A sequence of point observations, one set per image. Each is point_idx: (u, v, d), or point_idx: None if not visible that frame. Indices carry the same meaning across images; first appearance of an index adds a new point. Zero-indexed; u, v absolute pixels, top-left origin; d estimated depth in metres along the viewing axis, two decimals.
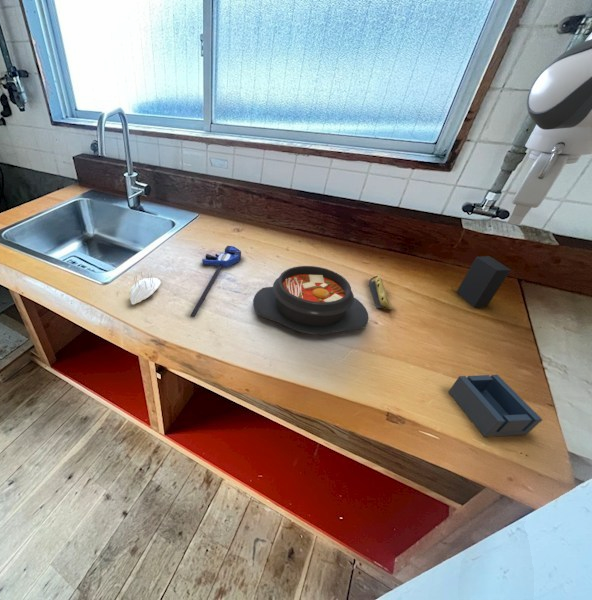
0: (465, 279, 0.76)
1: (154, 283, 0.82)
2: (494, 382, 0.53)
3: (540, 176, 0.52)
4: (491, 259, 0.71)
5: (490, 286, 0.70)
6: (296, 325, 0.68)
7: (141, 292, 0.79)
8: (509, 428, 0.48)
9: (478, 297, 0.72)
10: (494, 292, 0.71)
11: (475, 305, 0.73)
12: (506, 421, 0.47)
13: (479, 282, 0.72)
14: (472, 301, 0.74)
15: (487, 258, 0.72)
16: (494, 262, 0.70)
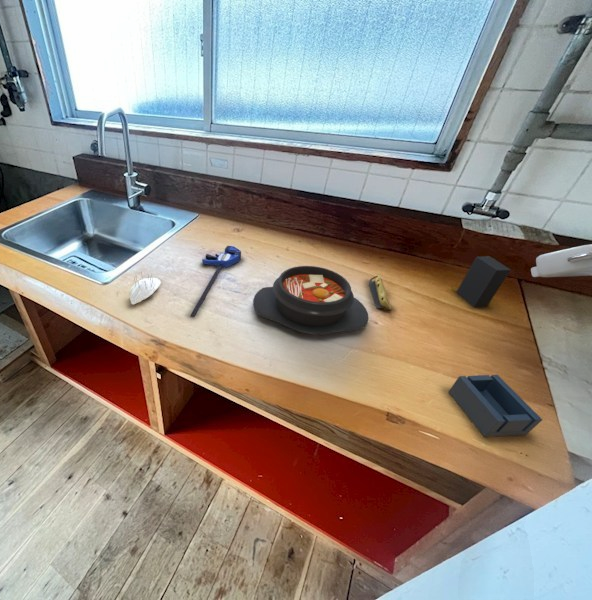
0: (465, 279, 0.76)
1: (154, 283, 0.82)
2: (494, 382, 0.53)
3: (568, 258, 0.47)
4: (491, 259, 0.71)
5: (490, 286, 0.70)
6: (296, 325, 0.68)
7: (141, 292, 0.79)
8: (509, 428, 0.48)
9: (478, 297, 0.72)
10: (494, 292, 0.71)
11: (475, 305, 0.73)
12: (506, 421, 0.47)
13: (479, 282, 0.72)
14: (472, 301, 0.74)
15: (487, 258, 0.72)
16: (494, 262, 0.70)
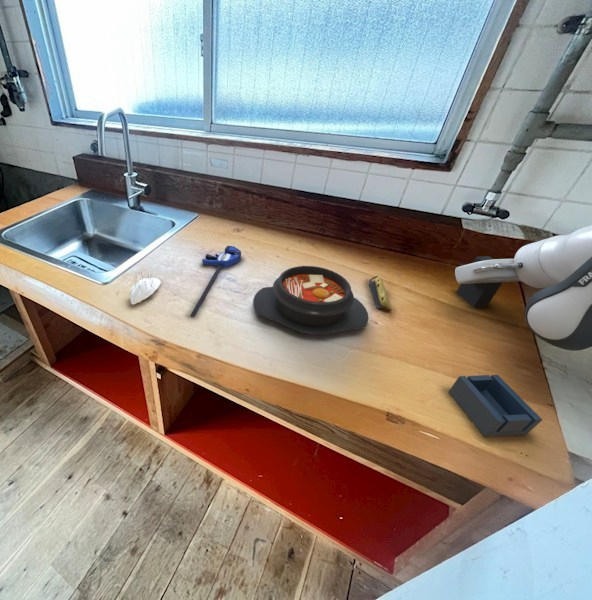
0: None
1: (154, 283, 0.82)
2: (494, 382, 0.53)
3: (473, 270, 0.64)
4: (491, 259, 0.71)
5: (490, 286, 0.70)
6: (296, 325, 0.68)
7: (141, 292, 0.79)
8: (509, 428, 0.48)
9: (478, 297, 0.72)
10: (494, 292, 0.71)
11: (475, 305, 0.73)
12: (506, 421, 0.47)
13: None
14: (472, 301, 0.74)
15: (487, 258, 0.72)
16: None
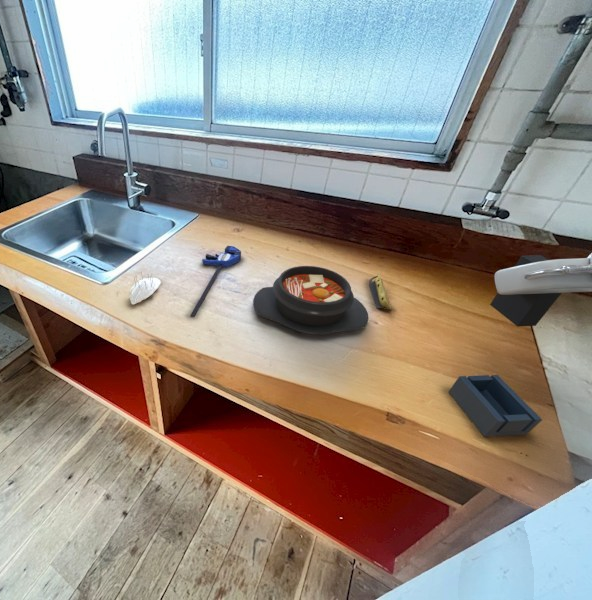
0: None
1: (154, 283, 0.82)
2: (494, 382, 0.53)
3: (525, 275, 0.43)
4: (544, 259, 0.50)
5: (543, 298, 0.49)
6: (296, 325, 0.68)
7: (141, 292, 0.79)
8: (509, 428, 0.48)
9: (524, 313, 0.52)
10: (548, 306, 0.50)
11: (519, 324, 0.53)
12: (506, 421, 0.47)
13: None
14: (515, 317, 0.53)
15: (537, 257, 0.51)
16: None
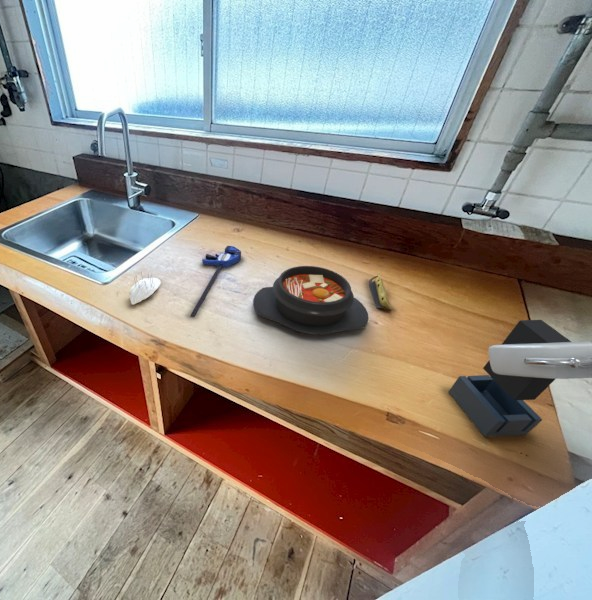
0: None
1: (154, 283, 0.82)
2: (494, 382, 0.53)
3: (525, 360, 0.36)
4: (545, 327, 0.43)
5: None
6: (296, 325, 0.68)
7: (141, 292, 0.79)
8: (509, 428, 0.48)
9: (523, 387, 0.44)
10: (550, 381, 0.43)
11: (517, 398, 0.45)
12: (506, 421, 0.47)
13: None
14: (511, 390, 0.46)
15: (538, 323, 0.44)
16: (551, 334, 0.42)
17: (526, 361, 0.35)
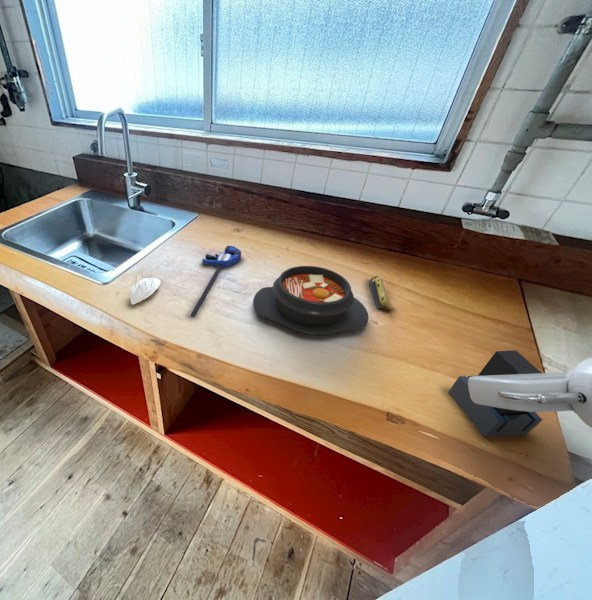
0: None
1: (154, 283, 0.82)
2: None
3: (499, 393, 0.39)
4: (519, 358, 0.47)
5: None
6: (296, 325, 0.68)
7: (141, 292, 0.79)
8: (509, 428, 0.48)
9: (499, 412, 0.48)
10: None
11: None
12: (506, 421, 0.47)
13: None
14: None
15: (512, 354, 0.48)
16: (524, 365, 0.46)
17: (499, 395, 0.39)
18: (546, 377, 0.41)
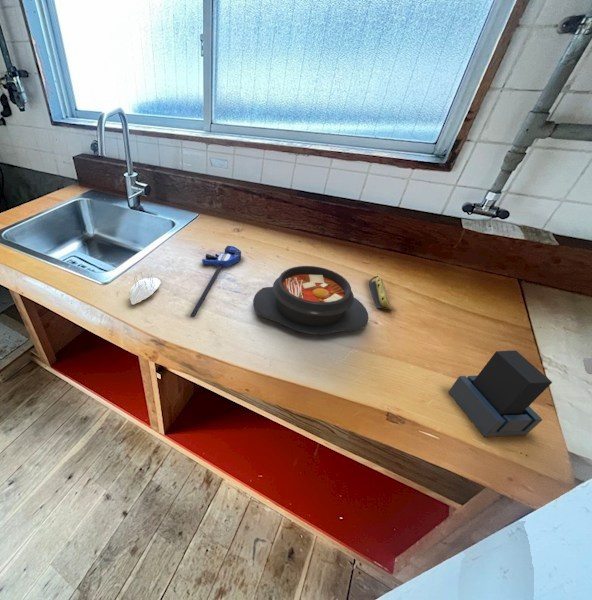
0: (478, 379, 0.51)
1: (154, 283, 0.82)
2: None
3: None
4: (519, 358, 0.47)
5: (518, 401, 0.46)
6: (296, 325, 0.68)
7: (141, 292, 0.79)
8: (509, 428, 0.48)
9: (499, 412, 0.48)
10: (524, 408, 0.47)
11: None
12: (506, 421, 0.47)
13: (500, 391, 0.48)
14: None
15: (512, 354, 0.48)
16: (524, 365, 0.46)
17: None
18: None
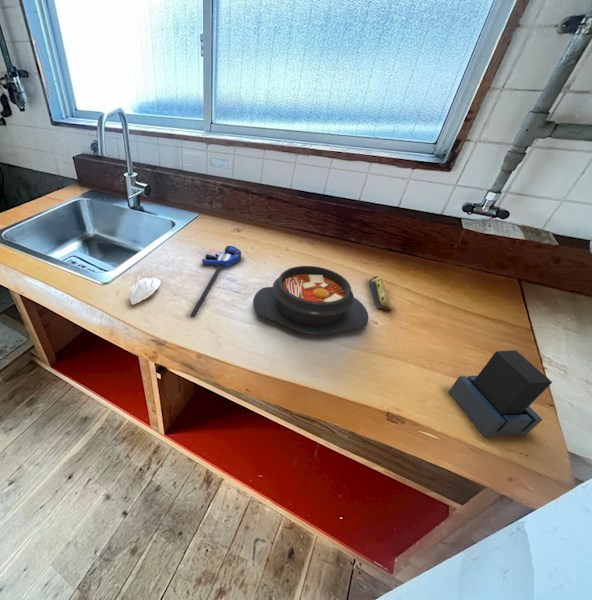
0: (478, 379, 0.51)
1: (154, 283, 0.82)
2: None
3: None
4: (519, 358, 0.47)
5: (518, 401, 0.46)
6: (296, 325, 0.68)
7: (141, 292, 0.79)
8: (509, 428, 0.48)
9: (499, 412, 0.48)
10: (524, 408, 0.47)
11: None
12: (506, 421, 0.47)
13: (500, 391, 0.48)
14: None
15: (512, 354, 0.48)
16: (524, 365, 0.46)
17: None
18: None
